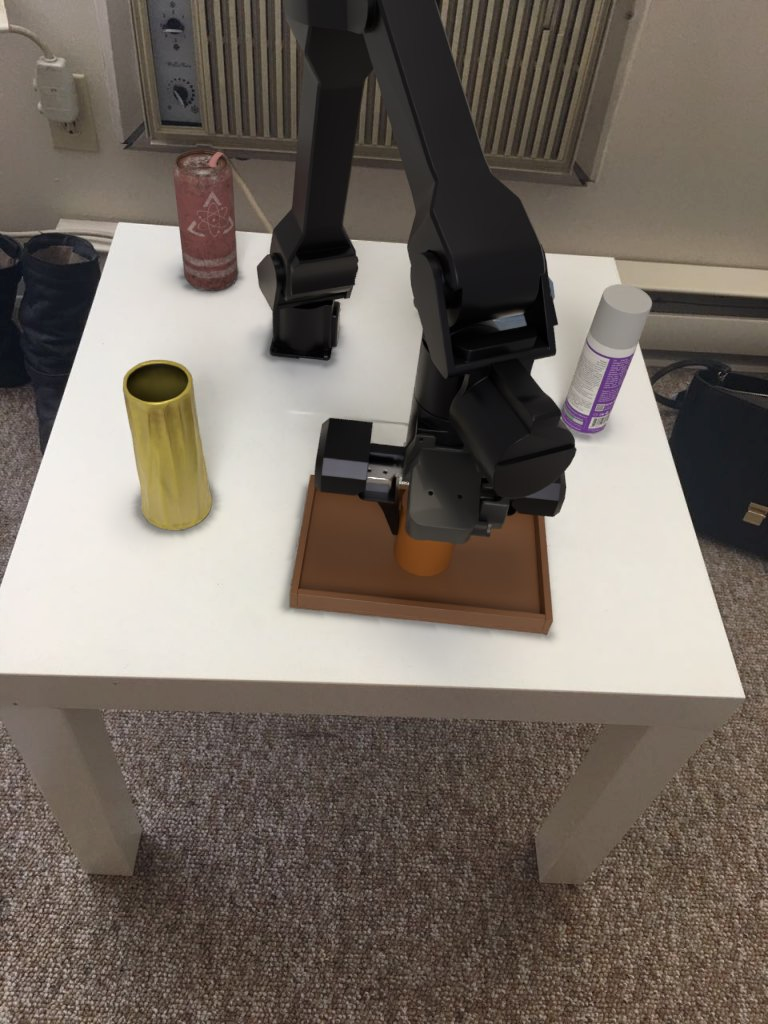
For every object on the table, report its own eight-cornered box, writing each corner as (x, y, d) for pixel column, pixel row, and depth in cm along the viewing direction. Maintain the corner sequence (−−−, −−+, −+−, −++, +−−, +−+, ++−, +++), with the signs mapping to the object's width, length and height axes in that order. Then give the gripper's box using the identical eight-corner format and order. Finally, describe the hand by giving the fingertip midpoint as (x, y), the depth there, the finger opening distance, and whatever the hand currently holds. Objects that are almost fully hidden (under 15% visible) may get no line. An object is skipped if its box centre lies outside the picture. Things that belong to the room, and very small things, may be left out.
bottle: (392, 573, 69) (404, 494, 62) (395, 528, 73) (407, 448, 65) (450, 579, 70) (470, 501, 62) (451, 534, 73) (470, 454, 65)
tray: (289, 607, 67) (289, 593, 65) (310, 488, 76) (310, 473, 74) (547, 634, 67) (553, 621, 66) (538, 513, 76) (543, 499, 75)
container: (603, 409, 87) (650, 286, 75) (606, 439, 83) (656, 317, 72) (559, 403, 86) (599, 280, 75) (561, 433, 83) (603, 310, 72)
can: (248, 272, 97) (244, 156, 87) (219, 299, 93) (210, 181, 83) (204, 256, 98) (194, 140, 88) (174, 282, 95) (159, 164, 84)
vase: (153, 540, 70) (129, 416, 59) (132, 491, 74) (105, 365, 63) (221, 518, 72) (210, 395, 62) (198, 471, 76) (183, 347, 65)
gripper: (306, 461, 52) (303, 601, 64) (598, 493, 52) (541, 626, 64) (326, 351, 59) (320, 495, 71) (582, 380, 60) (534, 518, 71)
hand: (426, 534), depth 69 cm, fingers closed on bottle, 5 cm apart
